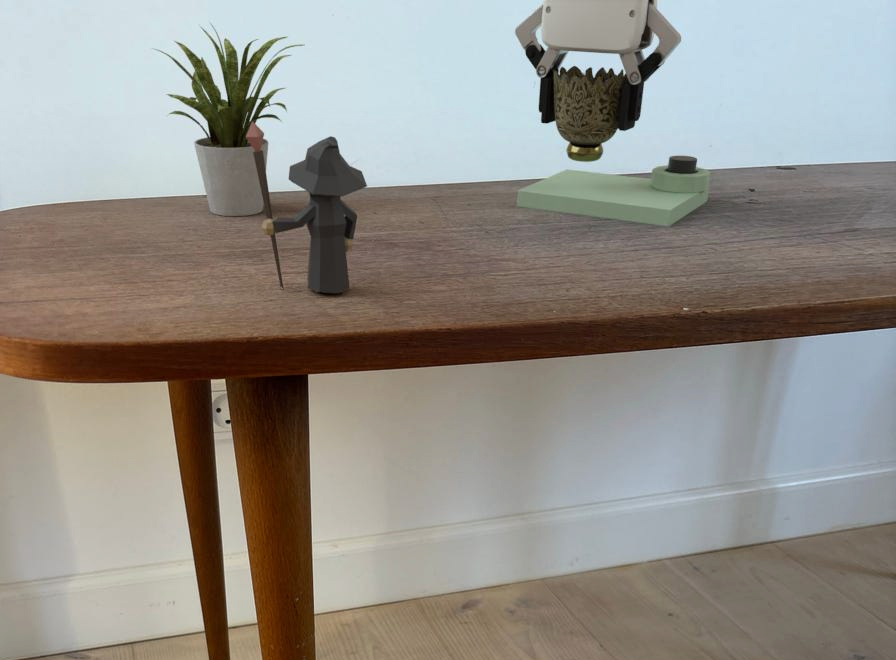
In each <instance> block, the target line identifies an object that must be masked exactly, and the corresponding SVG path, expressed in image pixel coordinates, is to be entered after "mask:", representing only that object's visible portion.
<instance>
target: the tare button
mask: <svg viewBox="0 0 896 660" xmlns="http://www.w3.org/2000/svg"><path fill="white" fill-rule="evenodd" d="M697 163H698V158H697V157H695V156H691V155H671V156H669V157H668V162H667V164H668V170H667V172H670V173H677V174H694V173H695V171H696V167H697Z"/></svg>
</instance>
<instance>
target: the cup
mask: <svg viewBox="0 0 896 660" xmlns="http://www.w3.org/2000/svg"><path fill="white" fill-rule="evenodd" d="M624 73H625V72H624V68H622V69H621V70H620V71H619V73H617V74H615V71H614V68H612V67H610V68H609V69H608V71H606V69H605V68H604V66H602V67H600V68H599V69H598V70H597V71H596V73H595V74H594V73H593V67H592V66H591V67H588V68H586V69H585V71H584V72H582V70H581V69H580V68H579V67H578V66H576V65H573V66H571V67H570V68H568V70H567V69H566V68H565V67H564V66H560V68H559V74H558V72H557V71H555V70H554V108H555V121H554V122H555V126H556V129H557V132H558V134H559V135H560V137H562V139H563V140H565V141H567V142H569V143H568V145H567V147H566V149H565V152H566V156H567V157H568V159H570V160H571V161H574V162H582V163H590V162H597V161H599V160H601V158H602V156H603V154H604V147H603V144H604V143H606V142H608V141H610V140H611V139H612V138H613V137H614V136H615V134H616V133H617V131H618V130H619V129H618V118H619V108H620V99H621V89H622V86H623V85H624V84H627V75H626V73H625V74H624Z"/></svg>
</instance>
